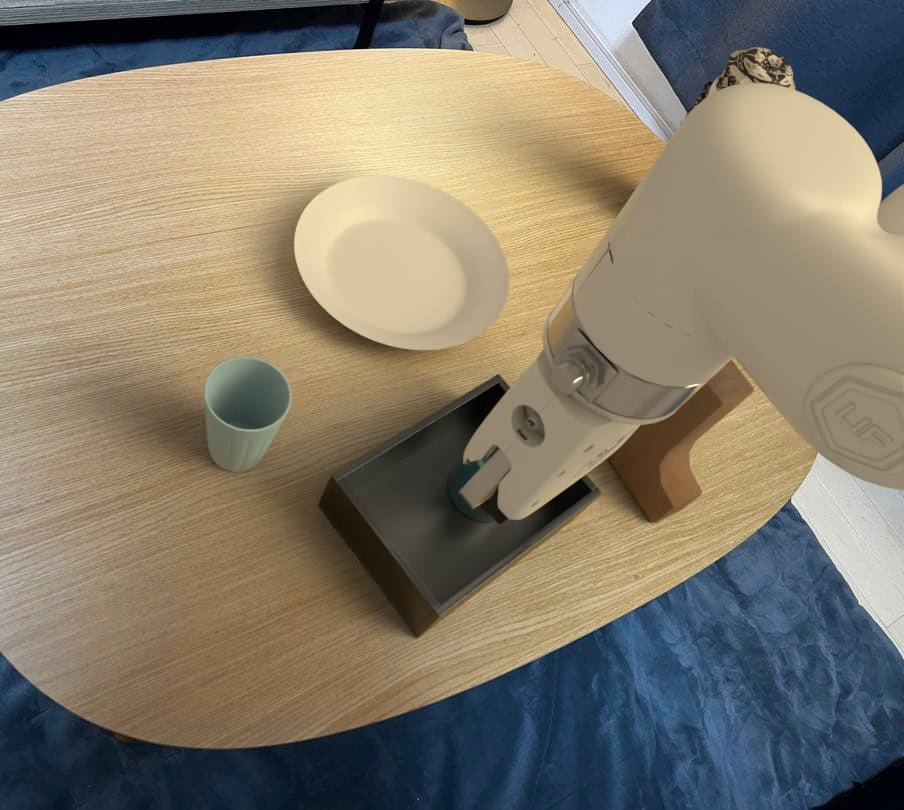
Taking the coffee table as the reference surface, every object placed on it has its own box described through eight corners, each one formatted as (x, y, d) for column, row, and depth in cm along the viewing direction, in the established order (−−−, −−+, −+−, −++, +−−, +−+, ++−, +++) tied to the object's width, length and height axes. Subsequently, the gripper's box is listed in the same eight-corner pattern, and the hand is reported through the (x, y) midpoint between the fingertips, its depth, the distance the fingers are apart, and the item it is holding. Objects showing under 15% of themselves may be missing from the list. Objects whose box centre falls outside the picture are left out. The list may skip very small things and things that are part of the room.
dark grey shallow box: (572, 520, 87) (603, 493, 81) (417, 639, 77) (439, 617, 71) (476, 406, 92) (498, 373, 86) (317, 504, 82) (330, 474, 76)
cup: (277, 416, 85) (292, 360, 77) (275, 485, 82) (291, 435, 73) (200, 409, 84) (207, 351, 75) (194, 479, 80) (201, 427, 71)
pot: (482, 447, 88) (511, 408, 81) (526, 500, 86) (560, 464, 79) (433, 479, 85) (459, 442, 78) (478, 534, 83) (508, 501, 76)
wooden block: (681, 510, 91) (789, 430, 76) (651, 525, 89) (755, 446, 74) (633, 441, 94) (727, 351, 79) (603, 454, 92) (693, 365, 77)
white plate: (308, 373, 89) (314, 354, 86) (274, 195, 101) (278, 173, 98) (523, 363, 96) (535, 345, 93) (468, 198, 108) (477, 177, 105)
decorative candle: (654, 253, 110) (775, 100, 90) (609, 203, 113) (716, 44, 92) (699, 233, 114) (825, 82, 94) (654, 185, 117) (766, 28, 97)
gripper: (580, 478, 35) (444, 611, 50) (777, 334, 42) (605, 489, 57) (464, 345, 37) (368, 512, 52) (670, 229, 44) (532, 406, 59)
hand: (492, 500), depth 55 cm, fingers closed
